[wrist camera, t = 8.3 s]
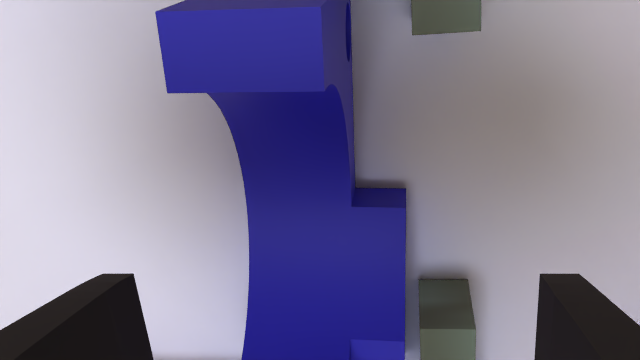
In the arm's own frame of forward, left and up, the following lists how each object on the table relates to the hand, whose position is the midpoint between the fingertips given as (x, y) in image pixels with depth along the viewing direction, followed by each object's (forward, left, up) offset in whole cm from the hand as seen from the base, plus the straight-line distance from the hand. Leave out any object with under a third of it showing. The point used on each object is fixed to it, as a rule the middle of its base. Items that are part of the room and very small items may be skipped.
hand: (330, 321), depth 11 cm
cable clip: (+1, +1, -8) cm, 8 cm away
